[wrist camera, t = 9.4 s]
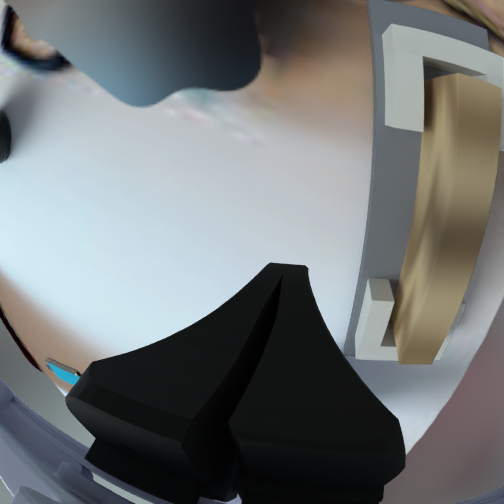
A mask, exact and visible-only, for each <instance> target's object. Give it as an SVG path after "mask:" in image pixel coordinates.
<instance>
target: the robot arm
mask: <svg viewBox="0 0 504 504" xmlns="http://www.w3.org/2000/svg"><path fill="white" fill-rule="evenodd" d="M65 401H66V405H67V407H68V409H69V410H70V412H71V413H72V414H73V415H74V416H75V417H76V418H77V420H78V421H79V422H80V423H81V424H82V425H83V426H84V427H85V428H86V429H87V430H88V431H89V432H90V433H91V434H92V435H93V436H94V437H95V438H96V439H95V441H94V443H93V444H92V446H91V448H88V447H86V446H85V445H83V444H82V443H80V442H78V441H76V440H75V439H74V438H72V437H70V436H69V435H67V434H66V433H64V432H63V431H61V430H60V429H58V428H57V427H55V426H54V425H53V424H51V423H50V422H49V421H47V420H46V419H44V418H43V417H42V416H40V415H39V414H38V413H37V412H35V411H34V410H33V409H31V408H30V407H29V406H28V405H26V404H25V403H24V402H23V401H22V400H20V399H19V398H18V397H17V396H16V395H15V394H14V392H13V391H12V390H11V389H10V387H9V386H8V385H7V384H6V383H5V382H4V381H3V379H1V377H0V478H1V479H2V481H3V483H4V484H5V485H6V487H7V488H8V490H9V491H10V493H11V494H12V495H13V499H12V500H11V502H10V504H135V503H133V502H131V501H129V500H127V499H125V498H123V497H121V496H119V495H118V494H116V493H114V492H112V491H111V490H109V489H107V488H105V487H104V486H102V485H100V484H99V483H97V482H95V481H94V480H93V475H92V472H93V473H94V474H96V475H98V476H99V477H101V478H103V479H105V480H106V481H108V482H110V483H112V484H114V485H116V486H118V487H119V488H121V489H123V490H125V491H127V492H129V493H131V494H134V495H136V496H138V497H140V498H142V499H144V500H147V501H149V502H151V503H154V504H379V502H381V501H382V499H383V492H384V485H386V484H387V483H388V482H390V481H391V480H392V479H394V478H395V477H396V476H398V475H399V474H400V472H401V471H402V470H403V469H404V468H405V460H406V452H405V445H404V440H403V435H402V431H401V427H400V423H399V420H398V418H396V417H395V416H394V415H393V414H392V413H391V412H390V411H389V410H388V409H387V408H386V407H385V406H384V405H383V404H382V402H381V401H380V400H379V399H378V398H377V397H376V396H375V395H374V394H373V393H372V392H371V390H370V389H369V388H368V387H367V386H366V384H365V383H364V382H363V381H362V380H361V378H360V377H359V376H358V374H357V373H356V372H355V370H354V369H353V368H352V366H351V365H350V364H349V362H348V361H347V359H346V358H345V357H344V355H343V354H342V352H341V350H340V349H339V347H338V346H337V344H336V342H335V341H334V339H333V337H332V335H331V334H330V332H329V330H328V328H327V326H326V324H325V322H324V320H323V318H322V315H321V313H320V311H319V308H318V306H317V303H316V301H315V298H314V295H313V292H312V289H311V285H310V281H309V276H308V268H307V267H306V266H305V265H293V264H280V263H269V264H268V265H266V266H265V267H264V268H263V269H262V270H261V271H260V272H259V273H258V274H257V275H256V276H255V277H254V278H253V279H252V280H251V281H250V282H249V283H248V284H247V285H245V286H244V287H243V288H242V289H241V290H240V291H239V292H238V293H236V294H235V295H234V296H233V297H232V298H230V299H229V300H228V301H226V302H225V303H224V304H223V305H221V306H220V307H219V308H217V309H216V310H215V311H213V312H212V313H210V314H209V315H207V316H206V317H204V318H202V319H201V320H199V321H197V322H196V323H194V324H192V325H191V326H189V327H187V328H185V329H183V330H181V331H179V332H177V333H175V334H173V335H171V336H169V337H167V338H165V339H162V340H160V341H157V342H155V343H153V344H150V345H148V346H145V347H142V348H139V349H137V350H134V351H131V352H128V353H124V354H121V355H117V356H113V357H110V358H106V359H102V360H98V361H93V362H92V363H91V364H90V365H89V366H88V368H87V369H86V370H85V372H84V373H83V374H82V376H81V377H80V378H79V380H78V381H77V382H76V384H75V385H74V386H73V388H72V389H71V390H70V392H69V393H68V394H67V396H66V400H65ZM90 471H91V472H90ZM453 504H504V487H502V488H499V489H497V490H494V491H492V492H489V493H486V494H483V495H480V496H477V497H474V498H471V499H467V500H464V501H460V502H457V503H453Z"/></svg>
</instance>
